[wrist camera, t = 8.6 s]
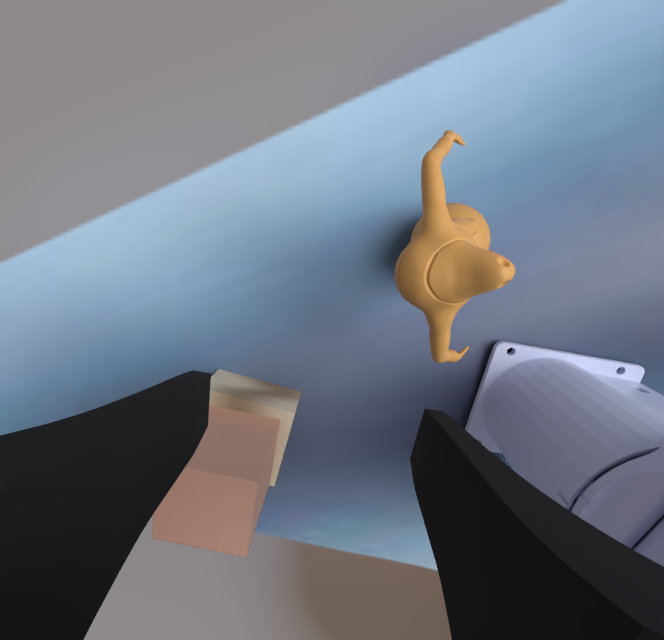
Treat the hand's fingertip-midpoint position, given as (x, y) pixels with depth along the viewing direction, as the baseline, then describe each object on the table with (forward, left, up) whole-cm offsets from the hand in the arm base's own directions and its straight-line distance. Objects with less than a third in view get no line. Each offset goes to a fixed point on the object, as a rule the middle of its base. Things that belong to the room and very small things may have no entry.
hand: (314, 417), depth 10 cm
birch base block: (+5, +8, -11) cm, 14 cm away
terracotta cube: (+5, +8, -8) cm, 12 cm away
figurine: (-4, -6, -11) cm, 13 cm away
